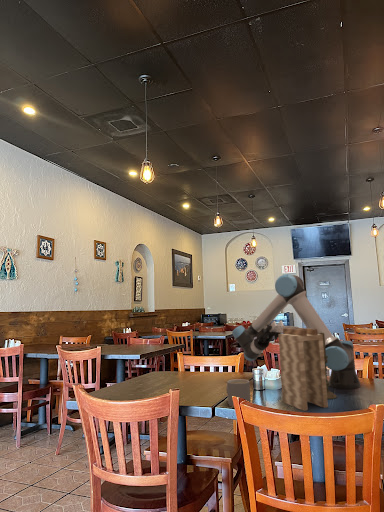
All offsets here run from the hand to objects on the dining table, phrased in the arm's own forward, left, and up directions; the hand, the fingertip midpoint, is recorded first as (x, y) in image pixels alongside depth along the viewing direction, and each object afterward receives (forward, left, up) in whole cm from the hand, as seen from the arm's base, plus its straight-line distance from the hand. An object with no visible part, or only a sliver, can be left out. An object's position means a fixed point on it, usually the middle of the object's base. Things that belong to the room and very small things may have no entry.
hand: (278, 323), depth 190 cm
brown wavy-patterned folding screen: (-9, +15, -34) cm, 38 cm away
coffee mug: (+20, +15, -34) cm, 43 cm away
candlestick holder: (-20, +1, -34) cm, 40 cm away
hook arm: (-1, +2, -4) cm, 5 cm away
